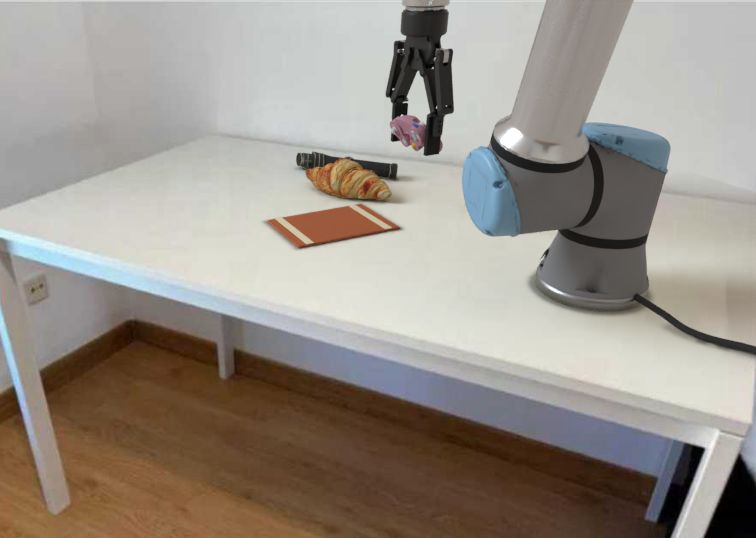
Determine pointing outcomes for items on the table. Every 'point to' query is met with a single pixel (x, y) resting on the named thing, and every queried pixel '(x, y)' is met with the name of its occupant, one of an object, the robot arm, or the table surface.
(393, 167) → the twine-wrapped black handle
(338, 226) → the tea towel
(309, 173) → the croissant
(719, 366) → the table surface
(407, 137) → the video game controller
